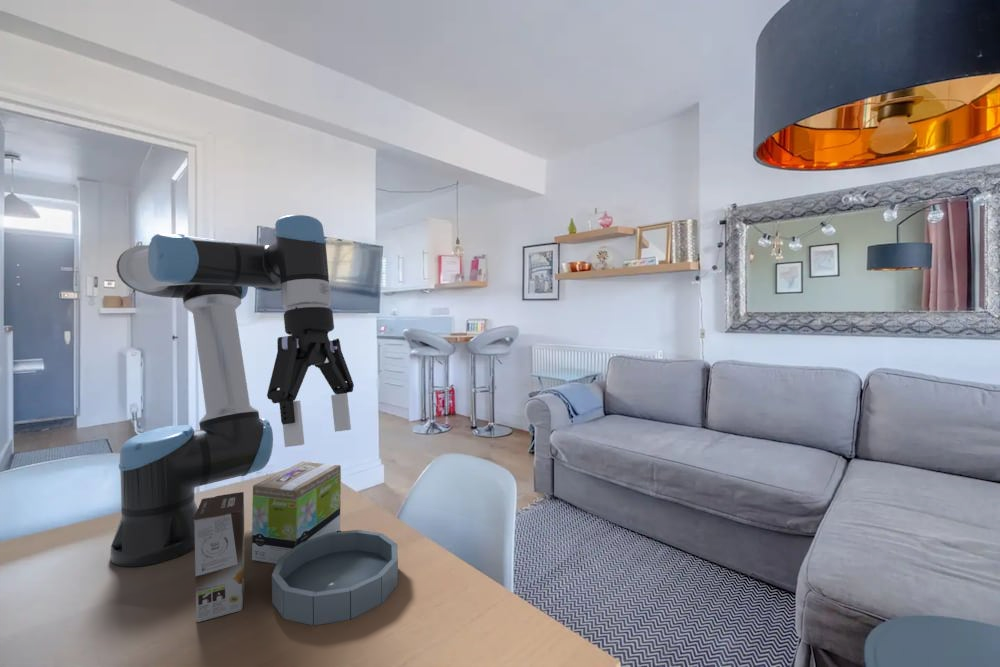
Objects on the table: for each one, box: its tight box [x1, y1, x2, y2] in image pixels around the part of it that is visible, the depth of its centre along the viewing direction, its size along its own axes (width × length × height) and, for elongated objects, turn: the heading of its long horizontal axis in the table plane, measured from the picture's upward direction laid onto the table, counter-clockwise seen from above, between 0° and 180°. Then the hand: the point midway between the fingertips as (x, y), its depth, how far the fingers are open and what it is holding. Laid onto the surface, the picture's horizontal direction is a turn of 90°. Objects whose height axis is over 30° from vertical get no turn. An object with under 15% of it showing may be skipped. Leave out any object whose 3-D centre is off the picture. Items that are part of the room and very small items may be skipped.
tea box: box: [251, 461, 342, 565], centre depth 90 cm, size 15×10×15 cm
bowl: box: [271, 529, 399, 626], centre depth 77 cm, size 20×20×4 cm
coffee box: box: [194, 491, 246, 623], centre depth 72 cm, size 9×6×16 cm
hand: (321, 437), depth 72 cm, fingers open, 13 cm apart
